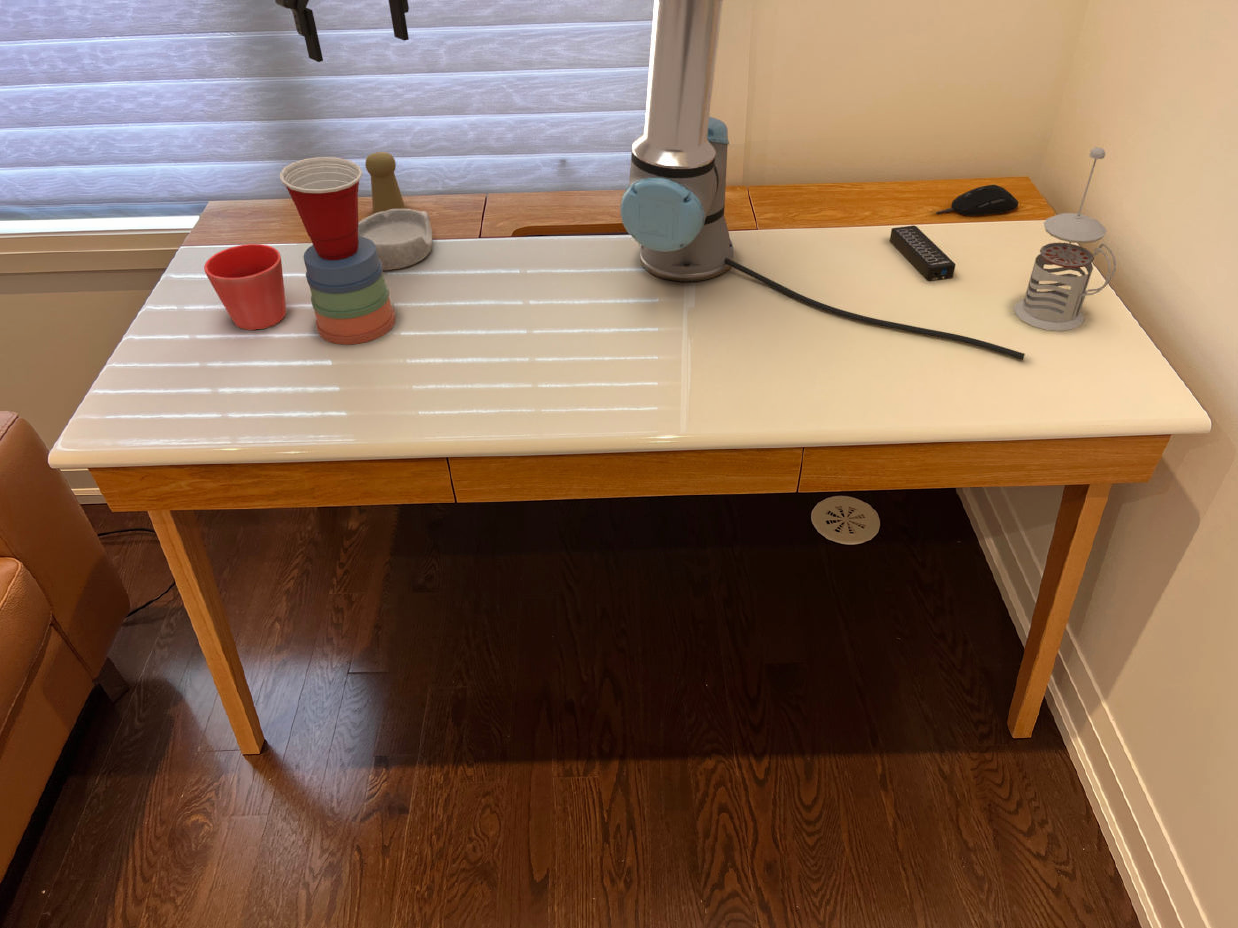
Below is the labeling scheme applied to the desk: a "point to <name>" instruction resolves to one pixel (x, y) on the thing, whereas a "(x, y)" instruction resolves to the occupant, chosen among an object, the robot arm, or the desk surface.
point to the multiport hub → (922, 253)
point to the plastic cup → (326, 203)
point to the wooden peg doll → (384, 182)
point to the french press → (1064, 304)
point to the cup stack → (349, 295)
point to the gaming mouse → (983, 201)
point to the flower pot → (249, 284)
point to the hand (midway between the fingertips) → (360, 49)
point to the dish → (398, 236)
